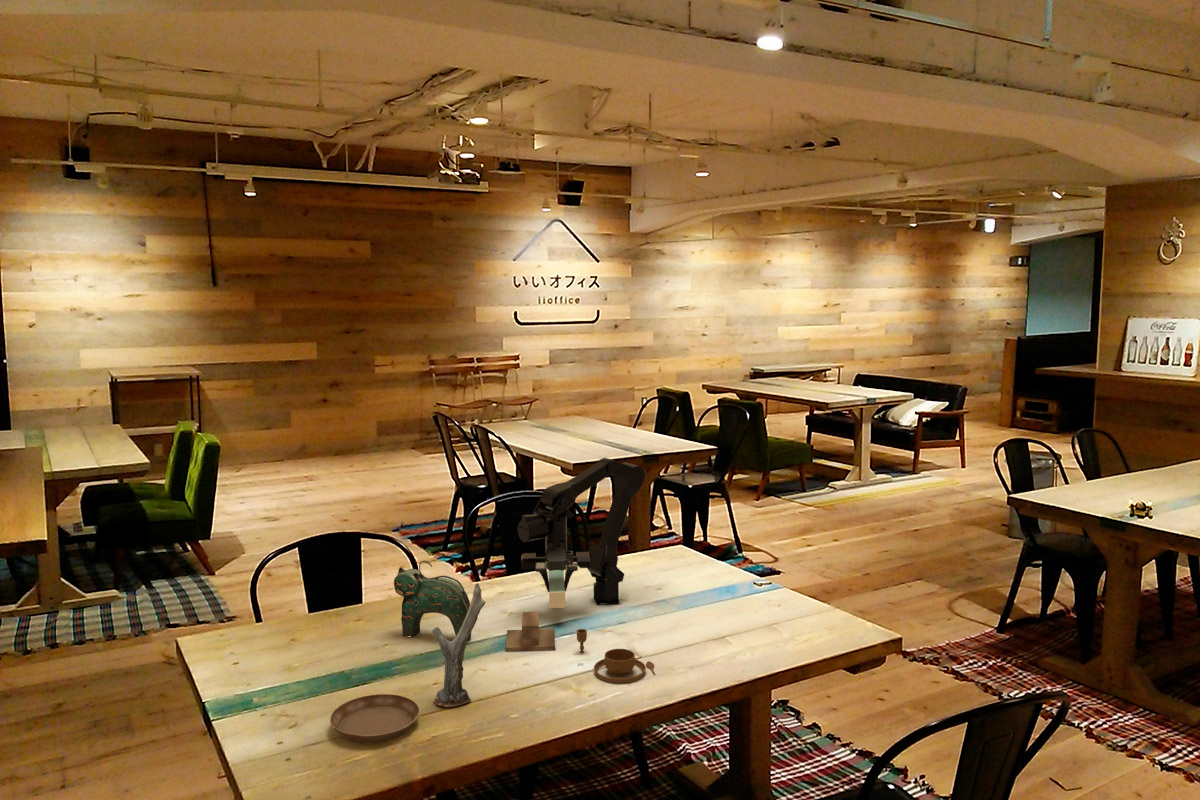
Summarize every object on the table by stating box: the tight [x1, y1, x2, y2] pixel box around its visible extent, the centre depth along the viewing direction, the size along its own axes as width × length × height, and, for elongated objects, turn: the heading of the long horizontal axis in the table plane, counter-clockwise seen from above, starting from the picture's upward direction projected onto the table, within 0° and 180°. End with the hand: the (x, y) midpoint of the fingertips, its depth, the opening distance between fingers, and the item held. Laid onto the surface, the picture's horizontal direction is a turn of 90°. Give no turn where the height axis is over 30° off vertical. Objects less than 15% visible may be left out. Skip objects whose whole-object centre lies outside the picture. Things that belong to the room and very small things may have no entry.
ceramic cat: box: [393, 560, 472, 643], centre depth 230 cm, size 20×6×20 cm, turn 73°
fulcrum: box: [505, 611, 556, 653], centre depth 228 cm, size 12×11×6 cm
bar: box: [548, 570, 566, 609], centre depth 245 cm, size 18×4×4 cm, turn 4°
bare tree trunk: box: [431, 582, 486, 708], centre depth 197 cm, size 12×8×25 cm
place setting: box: [576, 628, 656, 684], centre depth 215 cm, size 18×20×6 cm
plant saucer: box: [329, 693, 421, 744], centre depth 187 cm, size 18×18×3 cm
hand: (556, 591), depth 246 cm, fingers closed on bar, 4 cm apart
